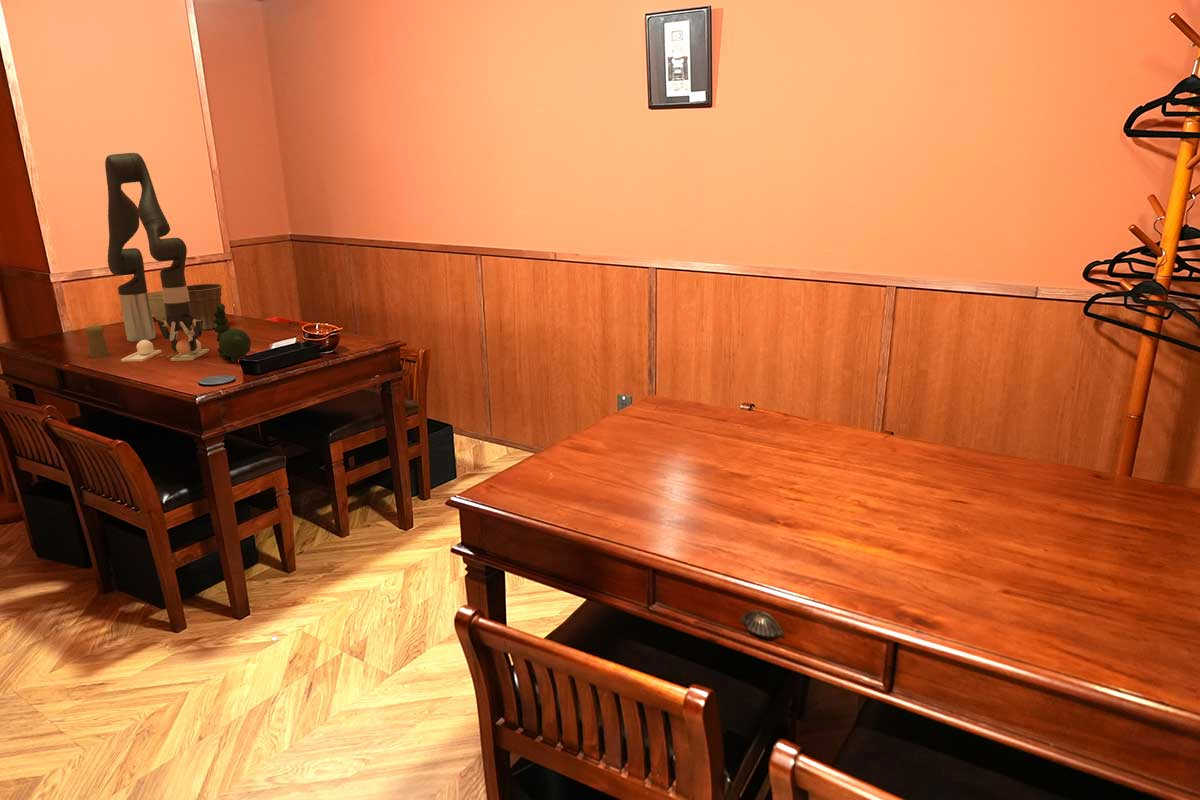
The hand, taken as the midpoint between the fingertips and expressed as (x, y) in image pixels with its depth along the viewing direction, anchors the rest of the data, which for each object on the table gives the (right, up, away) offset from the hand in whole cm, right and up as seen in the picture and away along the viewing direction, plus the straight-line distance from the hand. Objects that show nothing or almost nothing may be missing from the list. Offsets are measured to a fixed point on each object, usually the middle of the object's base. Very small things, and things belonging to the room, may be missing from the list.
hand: (185, 350), depth 269 cm
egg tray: (-16, -2, +3) cm, 17 cm away
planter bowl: (-42, +17, +68) cm, 82 cm away
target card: (-8, -2, +3) cm, 9 cm away
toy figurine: (+16, -3, +1) cm, 16 cm away
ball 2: (0, -1, 0) cm, 1 cm away
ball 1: (-16, -1, +6) cm, 17 cm away
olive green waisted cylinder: (-31, -2, +5) cm, 32 cm away
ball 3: (0, -1, +6) cm, 6 cm away
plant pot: (-18, +12, +51) cm, 55 cm away
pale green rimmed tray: (0, -2, +4) cm, 4 cm away
